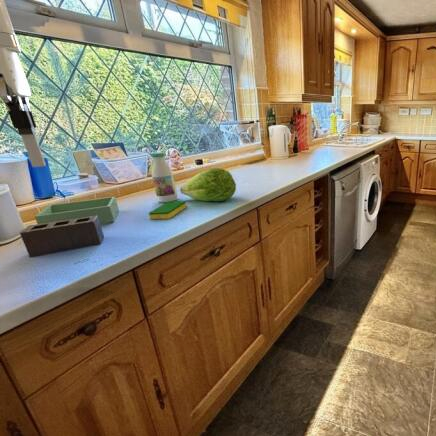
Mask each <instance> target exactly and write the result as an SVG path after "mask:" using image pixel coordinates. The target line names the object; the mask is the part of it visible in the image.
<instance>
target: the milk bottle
mask: <svg viewBox="0 0 436 436" xmlns="http://www.w3.org/2000/svg"><path fill="white" fill-rule="evenodd" d="M151 158H152V160H153V165H152V168H151V176H152V181H153V186H154V190H155V195H156V198H157V201H158V202H159V203H167V202H175V201H177V200H178V198H179V196H178V191H177V187H176V181H175V177H174V173H173V171H172V168H171V167H170V166H169V164H168V163H167V161H166V154H165V152H163V151H157V152H156V151H155V152H152V153H151Z"/></svg>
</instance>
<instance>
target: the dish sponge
mask: <svg viewBox="0 0 436 436" xmlns="http://www.w3.org/2000/svg"><path fill="white" fill-rule="evenodd" d="M185 208H187V201H186V200H184V201H183V200H179V201H177V200H174V201H170V202H164V203H163V204H162V205H160V206H158V207H156V208H155V209H152V210H151V211H150V212H148V216H149V219H150V220H167V219H171V218H173V217H174V216H175V215H177V214H178V213H180V212H181V211H183V210H185Z"/></svg>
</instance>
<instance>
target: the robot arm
mask: <svg viewBox="0 0 436 436" xmlns="http://www.w3.org/2000/svg"><path fill="white" fill-rule="evenodd" d="M18 41H19V40H18V38H17V36H16V32H15V29H14V26H13V24H12V20H11V17H10V14H9V11H8V8H7V4H6V2H5V0H0V99H1V100H2V101H3V103H4V106H5V108H6V110H7V112H8V115H9V119H10V121H11V123H12V127H13V128H14V129H15V130H18V129H24V128H32V125H31V122H30V119H29V117H28V114H27V111H24V107H23V104H26V105H27V107H28V110H29V113H30V116H31V119H32V122H33V125H34V128H35V129H36V128H37V124H36V123H37V122H36V121H35V118H34V115H33V112H32V109H31V106H30V103H29V98H30V97H31V96H32V92H31V88H30V85H29V81H28V79H27V77H26V74H25V70H24V68H23V65H22V62H21V60H20V58H19V56H18V54H22V51H21V48H20V44H19V42H18Z"/></svg>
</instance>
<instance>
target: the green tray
mask: <svg viewBox="0 0 436 436" xmlns="http://www.w3.org/2000/svg"><path fill="white" fill-rule="evenodd" d="M119 212H120V209H119V206H118V201H117V198H116V196H107V197H99V198H93V199H84V200H77V201H70V202H69V201H68V202H62V203H53V204H48V205H47V206H46V207H45V208H43V209H42V210H41V211H40V212H39V213H37V214H36V215H35V216H34V219H35V221H36V224H42V223H49V222H56V221H62V220H69V219H76V218H82V217H89V216H96V215H97V216H98V219H99V222H100V225H104V224H110V223H111V224H112V223H115V221H116V220H117V218H118V217H117V216H118V214H119Z"/></svg>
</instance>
